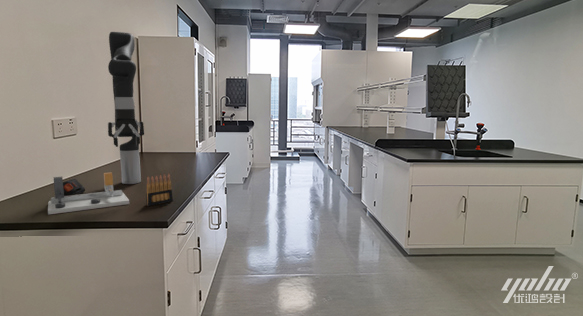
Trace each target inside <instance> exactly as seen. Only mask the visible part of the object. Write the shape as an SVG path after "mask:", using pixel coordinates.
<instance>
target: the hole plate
mask: <svg viewBox="0 0 583 316" xmlns="http://www.w3.org/2000/svg"><path fill="white" fill-rule="evenodd" d="M47 205H48V206H47V215H55V214H62V213H69V212H70V213H71V212H78V211H86V210H92V209H100V208H101V209H102V208H108V207H116V206H123V205H130V199H129V198H128V197H127V195H126V194H125V193H124V192H122V195H120V196H113V197H103V198H95V199H86V200H78V201H69V202H62V203H52V204H51V200H49V201H48V204H47Z"/></svg>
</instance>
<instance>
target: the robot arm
mask: <svg viewBox="0 0 583 316" xmlns="http://www.w3.org/2000/svg"><path fill="white" fill-rule="evenodd" d="M108 43H109V50H110V51H109V53H110V60H109V62H108V66H107V67H108V73H109V74H110V75H111V76H112V92H113V93H112V94H113V101H114V102H113V103H114V122H111V121H109V122H108V123H107V135H108V136H109V137H111V138H113V145H114V146H115V148H116V147H117V148H118V147H119V158H120V161H119V162H120V174H121V175H120V176H121V184H123V185H124V184H125V185H133V184H139V183H141V182H142V179H141V178H142V176H141V163H140V162H141V161H140V160H141V158H140V157H141V156H140V146H139V145H140V144H141V137H142V136H145V126H144V122H143V121H142V120H141V121H138V119H136V113H135V111H136V110H135V108H136V107H135V102H134V101H135V99H134V80H135V75H136V73H137V66H136V63H135V62H134V61H133V60H132V56H133V55H134V54H133V53H134V50H135V44H136V43H135V38H134V34H132V33H130V32H121V31H110V32H109V34H108ZM113 128H114V130H115V132H114V133H113ZM118 138H131V139H129V140H128V141H127V142H124V143H121V144H120V145H119V142H118V141H119V140H118Z"/></svg>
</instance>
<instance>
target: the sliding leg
mask: <svg viewBox="0 0 583 316" xmlns="http://www.w3.org/2000/svg"><path fill="white" fill-rule="evenodd" d="M103 182H104V184H103V186H104V192H110V196H111V197H113V191H114V179H113V172H111V171H109V172H103Z"/></svg>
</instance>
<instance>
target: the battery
mask: <svg viewBox="0 0 583 316" xmlns="http://www.w3.org/2000/svg"><path fill="white" fill-rule="evenodd" d="M63 190H64V196H70V195H79V194H84V192H86V188H85V187H84V186H83V185H82V183H80V181H78V180H77V179H76V178H71V179H69V180H65V181H63Z"/></svg>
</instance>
